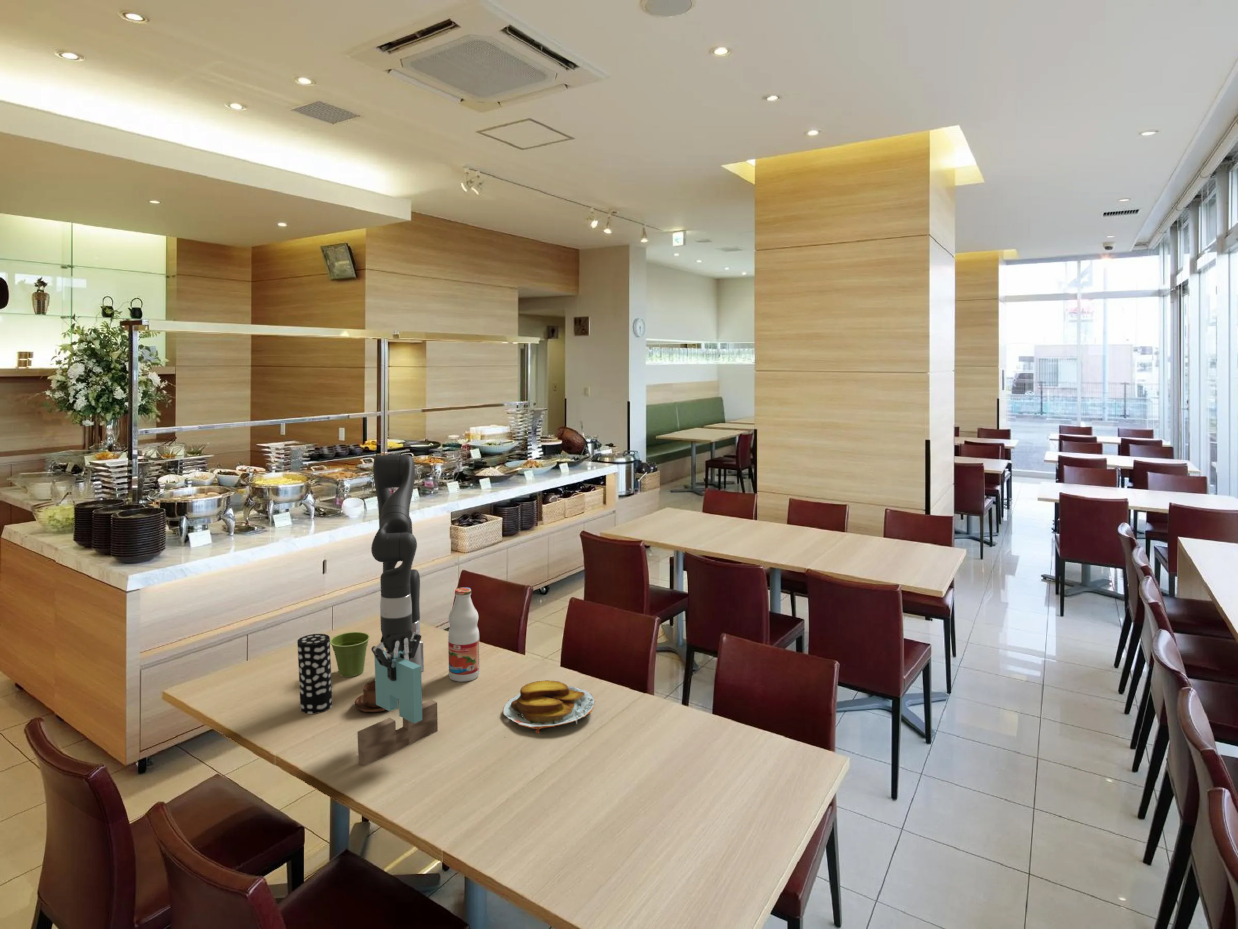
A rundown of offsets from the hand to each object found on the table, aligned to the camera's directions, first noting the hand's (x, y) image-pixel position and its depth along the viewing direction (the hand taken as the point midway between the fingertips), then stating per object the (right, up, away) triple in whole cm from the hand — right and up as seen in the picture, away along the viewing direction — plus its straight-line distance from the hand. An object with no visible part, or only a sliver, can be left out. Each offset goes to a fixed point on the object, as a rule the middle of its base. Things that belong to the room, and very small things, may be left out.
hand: (397, 678), depth 182 cm
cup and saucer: (-13, -15, +24) cm, 32 cm away
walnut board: (0, -18, +2) cm, 18 cm away
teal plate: (0, -9, +1) cm, 9 cm away
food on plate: (+36, -17, +22) cm, 45 cm away
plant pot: (-29, -12, +45) cm, 55 cm away
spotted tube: (-30, -15, +23) cm, 40 cm away
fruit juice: (+7, -13, +44) cm, 47 cm away
